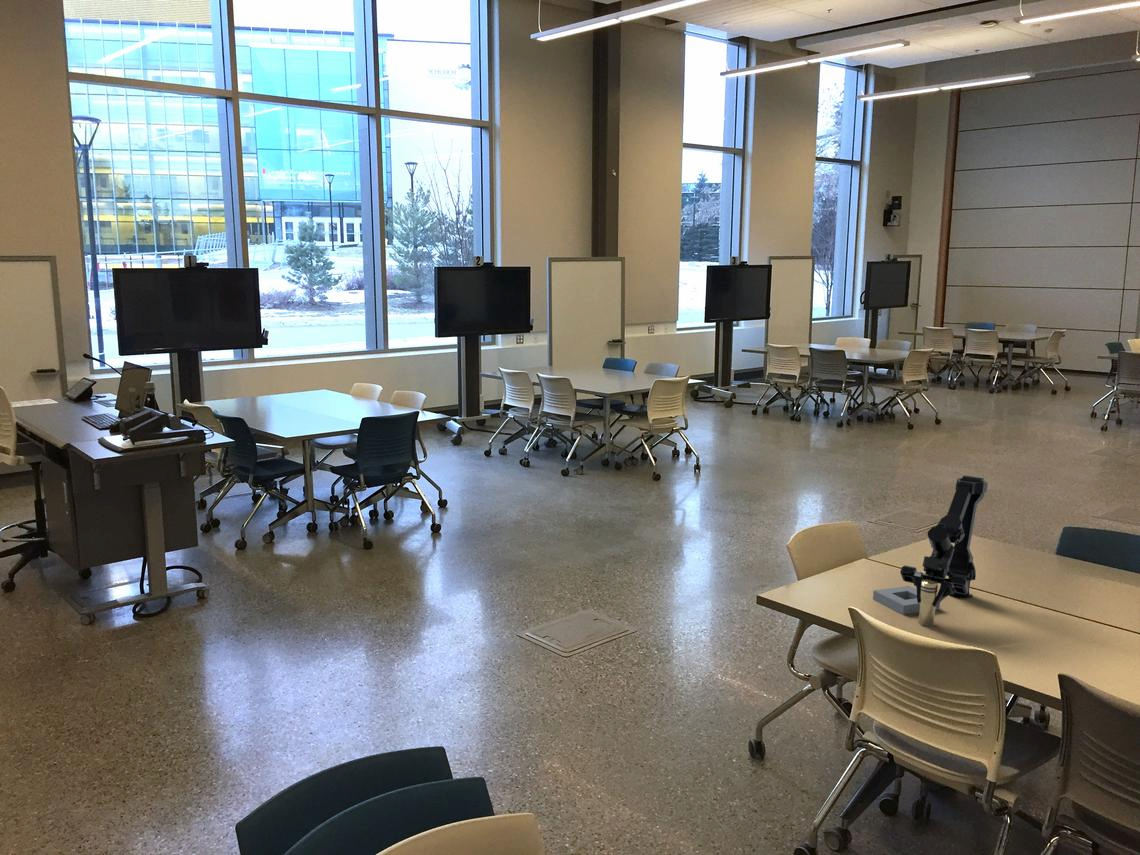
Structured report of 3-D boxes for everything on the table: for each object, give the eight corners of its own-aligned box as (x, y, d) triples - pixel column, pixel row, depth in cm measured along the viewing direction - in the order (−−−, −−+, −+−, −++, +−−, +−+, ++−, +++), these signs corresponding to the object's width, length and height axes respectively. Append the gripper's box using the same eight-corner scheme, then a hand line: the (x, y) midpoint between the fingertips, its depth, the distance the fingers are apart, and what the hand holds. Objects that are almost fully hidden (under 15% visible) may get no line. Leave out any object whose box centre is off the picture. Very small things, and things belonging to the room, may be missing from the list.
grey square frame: (907, 594, 288) (908, 585, 288) (939, 609, 275) (940, 600, 275) (872, 599, 283) (873, 590, 283) (903, 614, 271) (904, 605, 270)
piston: (926, 620, 267) (930, 578, 264) (938, 625, 262) (941, 583, 260) (914, 621, 265) (917, 580, 263) (925, 627, 261) (928, 585, 259)
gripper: (904, 539, 269) (889, 583, 262) (969, 551, 257) (955, 598, 250) (910, 558, 276) (896, 601, 269) (974, 571, 265) (960, 616, 258)
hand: (926, 604), depth 261 cm, fingers closed on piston, 4 cm apart
